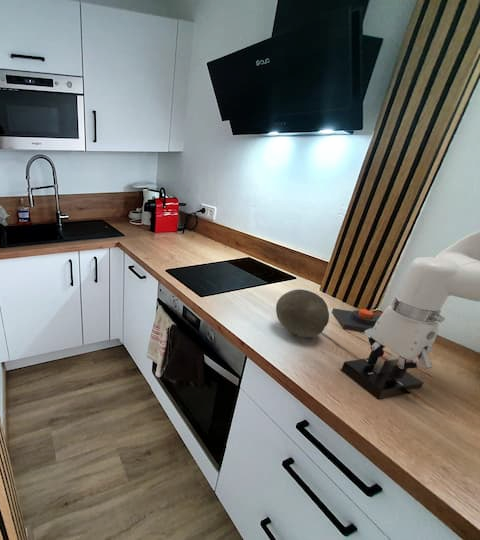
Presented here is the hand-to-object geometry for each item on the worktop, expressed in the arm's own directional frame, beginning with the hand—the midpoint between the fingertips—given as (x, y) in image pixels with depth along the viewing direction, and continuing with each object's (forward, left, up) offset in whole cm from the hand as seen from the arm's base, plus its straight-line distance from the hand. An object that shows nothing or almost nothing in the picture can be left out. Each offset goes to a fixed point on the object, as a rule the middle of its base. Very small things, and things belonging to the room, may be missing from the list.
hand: (383, 369), depth 73 cm
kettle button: (-19, -21, +1) cm, 28 cm away
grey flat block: (-19, -21, -4) cm, 29 cm away
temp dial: (0, 0, -1) cm, 1 cm away
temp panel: (0, 0, -4) cm, 4 cm away
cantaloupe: (+6, -22, -4) cm, 23 cm away
